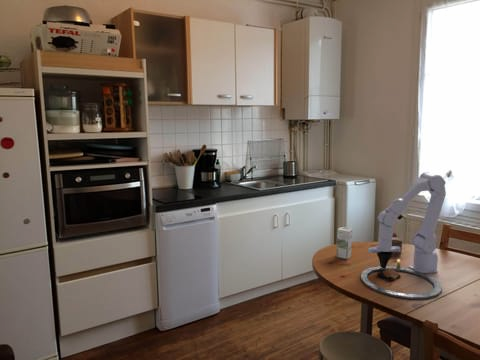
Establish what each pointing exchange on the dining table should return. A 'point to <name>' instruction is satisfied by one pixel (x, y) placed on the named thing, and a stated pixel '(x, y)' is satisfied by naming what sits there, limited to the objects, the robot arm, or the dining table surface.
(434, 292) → the turntable ring
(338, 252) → the syrup box
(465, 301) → the dining table surface
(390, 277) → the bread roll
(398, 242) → the food item
